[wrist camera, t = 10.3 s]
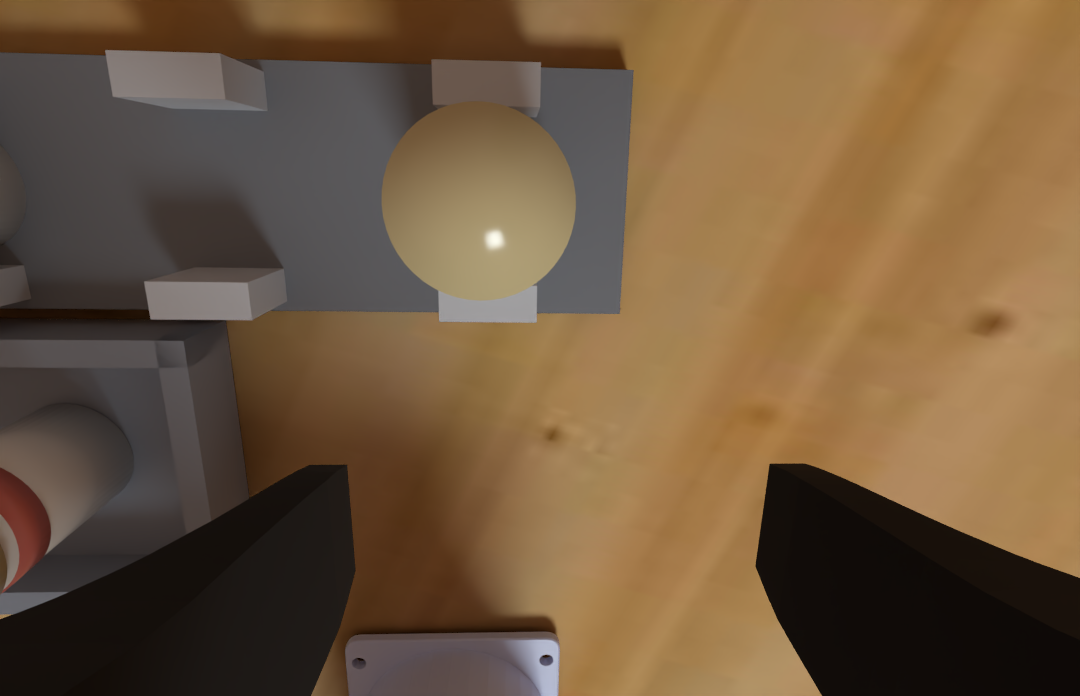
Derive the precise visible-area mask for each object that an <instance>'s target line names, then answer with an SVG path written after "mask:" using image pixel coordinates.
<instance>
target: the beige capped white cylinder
mask: <svg viewBox="0 0 1080 696" xmlns="http://www.w3.org/2000/svg"><path fill="white" fill-rule="evenodd" d="M382 212H383V219H384V223H385V227H386V230H387V233H388V235H389V238H390V240H391V243H392V244H393V246H394V248H395V250H396V252H397V254H398V255H399V256H400V258H401V259H402V261H403V262H404V263H405V264H406V266H407V267H408V268H409V269H410V270H411V271H412V272H413V273H414V274H415V275H416V276H418V277H419V278H420V279H421V280H422V281H424V282H425V283H427V284H428V285H430V286H431V287H433V288H435V289H437V290H439V291H441V292H443V293H445V294H448V295H451V296H454V297H457V298H462V299H467V300H478V301H483V300H495V299H501V298H505V297H508V296H511V295H515V294H517V293H519V292H521V291H523V290H526V289H527V288H529V287H531V286H532V285H534V284H535V283H537V282H538V281H539V280H540V279H542V278H543V277H544V276H545V275H546V274H547V273H548V272H549V271H550V270H551V269H552V268H553V267H554V265H555V264H556V263H557V261H558V260H559V258H560V257H561V256H562V254H563V252H564V250H565V248H566V246H567V244H568V241H569V239H570V236H571V233H572V229H573V225H574V221H575V212H576V194H575V187H574V181H573V178H572V174H571V171H570V168H569V165H568V163H567V161H566V158H565V156H564V155H563V153H562V151H561V149H560V148H559V146H558V145H557V143H556V142H555V141H554V139H553V138H552V137H551V136H550V134H549V133H548V132H547V131H546V130H544V129H543V128H542V127H541V126H540V125H539V124H538V123H537V122H535V121H534V120H533V119H531V118H530V117H528V116H527V115H525V114H523V113H521V112H519V111H518V110H515V109H513V108H510V107H507V106H505V105H501V104H496V103H492V102H483V101H470V102H461V103H456V104H451V105H448V106H445V107H442V108H439V109H437V110H436V111H434V112H432V113H430V114H428V115H426V116H425V117H423V118H422V119H421V120H419V121H418V122H416V123H415V124H414V125H413V126H412V127H411V128H410V129H409V130H408V131H407V132H406V133H405V135H404V136H403V137H402V138H401V140H400V141H399V142H398V144H397V146H396V147H395V149H394V151H393V152H392V154H391V157H390V159H389V161H388V164H387V167H386V170H385V174H384V177H383V184H382Z"/></svg>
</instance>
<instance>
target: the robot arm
mask: <svg viewBox="0 0 1080 696" xmlns="http://www.w3.org/2000/svg"><path fill="white" fill-rule="evenodd" d="M756 569H757V571H758V574H759V576H760V579H761V581H762V584H763V586H764V589H765V591H766V594H767V596H768V598H769V601H770V603H771V605H772V607H773V610H774V612H775V614H776V617H777V619H778V621H779V623H780V624H781V626H782V628H783V630H784V631H785V633H786V635H787V637H788V638H789V640H790V642H791V644H792V645H793V647H794V649H795V650H796V652H797V654H798V656H799V657H800V659H801V661H802V663H803V664H804V666H805V668H806V669H807V671H808V673H809V674H810V676H811V678H812V679H813V681H814V683H815V684H816V686H817V688H818V690H819V691H820V693H821V695H822V696H1080V578H1078V577H1075V576H1072V575H1070V574H1067V573H1064V572H1061V571H1058V570H1056V569H1053V568H1050V567H1047V566H1044V565H1042V564H1039V563H1036V562H1034V561H1031V560H1028V559H1026V558H1023V557H1021V556H1018V555H1015V554H1013V553H1010V552H1008V551H1005V550H1003V549H1001V548H998V547H996V546H994V545H991V544H989V543H986V542H984V541H982V540H979V539H977V538H974V537H972V536H970V535H967V534H965V533H962V532H960V531H958V530H956V529H953V528H951V527H949V526H946V525H944V524H942V523H940V522H937V521H935V520H933V519H931V518H929V517H926V516H924V515H922V514H920V513H918V512H915V511H913V510H911V509H909V508H907V507H905V506H902V505H900V504H898V503H896V502H894V501H892V500H889V499H887V498H885V497H883V496H881V495H879V494H877V493H874V492H872V491H870V490H868V489H866V488H864V487H861V486H859V485H857V484H855V483H853V482H850V481H848V480H846V479H844V478H841V477H839V476H837V475H834V474H832V473H830V472H827V471H825V470H822V469H819V468H817V467H814V466H811V465H807V464H770V466H769V473H768V480H767V487H766V494H765V502H764V509H763V516H762V523H761V530H760V537H759V545H758V552H757V559H756ZM354 574H355V559H354V546H353V534H352V521H351V509H350V496H349V484H348V471H347V465H309V466H307V467H304V468H302V469H300V470H298V471H296V472H294V473H293V474H291V475H289V476H287V477H285V478H284V479H282V480H280V481H278V482H277V483H275V484H273V485H272V486H270V487H268V488H266V489H265V490H263V491H261V492H260V493H258V494H256V495H255V496H253V497H251V498H250V499H248V500H246V501H244V502H243V503H241V504H239V505H238V506H236V507H234V508H233V509H231V510H229V511H227V512H226V513H224V514H222V515H221V516H219V517H217V518H216V519H214V520H212V521H210V522H208V523H207V524H205V525H203V526H201V527H199V528H197V529H195V530H194V531H192V532H190V533H188V534H186V535H184V536H182V537H181V538H179V539H177V540H175V541H173V542H171V543H170V544H168V545H166V546H164V547H162V548H160V549H158V550H157V551H155V552H153V553H151V554H149V555H147V556H145V557H143V558H141V559H139V560H137V561H135V562H133V563H131V564H129V565H127V566H125V567H123V568H121V569H119V570H117V571H114V572H112V573H110V574H108V575H106V576H104V577H101V578H99V579H97V580H95V581H92V582H90V583H88V584H86V585H84V586H81V587H79V588H77V589H75V590H72V591H70V592H68V593H66V594H63V595H61V596H59V597H56V598H54V599H52V600H49V601H47V602H44V603H42V604H39V605H37V606H34V607H31V608H29V609H26V610H24V611H21V612H18V613H16V614H13V615H11V616H8V617H5V618H3V619H0V696H311V694H312V692H313V690H314V687H315V685H316V683H317V680H318V678H319V676H320V673H321V671H322V668H323V666H324V664H325V661H326V659H327V656H328V654H329V652H330V649H331V647H332V644H333V642H334V640H335V637H336V635H337V632H338V630H339V627H340V624H341V621H342V618H343V614H344V611H345V607H346V604H347V600H348V597H349V593H350V589H351V585H352V581H353V578H354ZM546 654H547V655H550V657H547V658H544V657H541V656H543V655H546ZM559 654H560V646H559V639H558V637H557V636H556V635H555V634H553V633H552V632H488V633H424V634H360V635H354V636H353V637H351V638H350V639H349V640H348V642H347V645H346V648H345V658H346V670H347V681H348V692H349V696H558V684H559ZM356 658H362V659H364V660H365V661H359V660H357V659H356Z"/></svg>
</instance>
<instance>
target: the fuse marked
mask: <svg viewBox="0 0 1080 696" xmlns="http://www.w3.org/2000/svg"><path fill="white" fill-rule="evenodd" d="M133 469H134V457H133V453H132V449H131V447H130V444H129V442H128V440H127V438H126V437H125V435H124V434H123V432H122V431H121V430H120V429H119V428H118V427H117V426H116V425H115V424H114V423H113V422H112V421H111V420H109V419H108V418H107V417H105V416H104V415H102V414H100V413H98V412H96V411H94V410H92V409H90V408H87V407H84V406H79V405H75V404H53V405H49V406H45V407H43V408H40V409H38V410H36V411H34V412H32V413H30V414H28V415H27V416H25V417H23V418H21V419H19V420H17V421H15V422H13V423H11V424H9V425H7V426H5V427H3V428H1V429H0V595H1V594H2V593H3V592H4V591H6V590H7V589H8V588H9V587H11V586H12V585H13V584H14V583H15V582H16V581H18V580H19V579H20V578H21V577H22V576H24V575H25V574H26V573H27V572H28V571H30V570H31V569H32V568H33V567H34V566H36V565H37V564H38V563H39V562H40V561H41V560H42V558H43V557H44V556H45V555H46V554H47V553H48V552H49V551H51V550H52V549H53V548H54V547H55V546H57V545H58V544H59V543H60V542H61V541H63V540H64V539H65V538H66V537H67V536H69V535H70V534H71V533H72V532H73V531H75V530H76V529H77V528H78V527H79V526H81V525H82V524H83V523H84V522H85V521H87V520H88V519H89V518H90V517H91V516H93V515H94V514H95V513H96V512H97V511H99V510H100V509H101V508H102V507H103V506H105V505H106V504H107V503H108V502H109V501H111V500H112V499H113V498H114V497H115V496H117V495H118V494H119V493H120V492H121V491H122V490H123V489H124V488H125V487H126V486H127V484H128V483H129V481H130V479H131V477H132V474H133Z"/></svg>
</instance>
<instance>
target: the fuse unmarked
mask: <svg viewBox="0 0 1080 696" xmlns="http://www.w3.org/2000/svg"><path fill="white" fill-rule="evenodd" d="M25 210H26V193H25V187H24V183H23V180H22V177H21V175H20V172H19V170H18V168H17V167H16V165H15V163H14V161H13V160H12V159H11V157H10V156H9V154H8V153H7V152H6V151H5V150H4V149H3V147H2V146H1V145H0V245H2V244H4V243H5V242H7V241H8V240H9V239H11V238H12V237H13V236H14V234H15V233H16V232H17V231H18V229H19V228H20V226H21V224H22V221H23V219H24V215H25Z"/></svg>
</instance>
